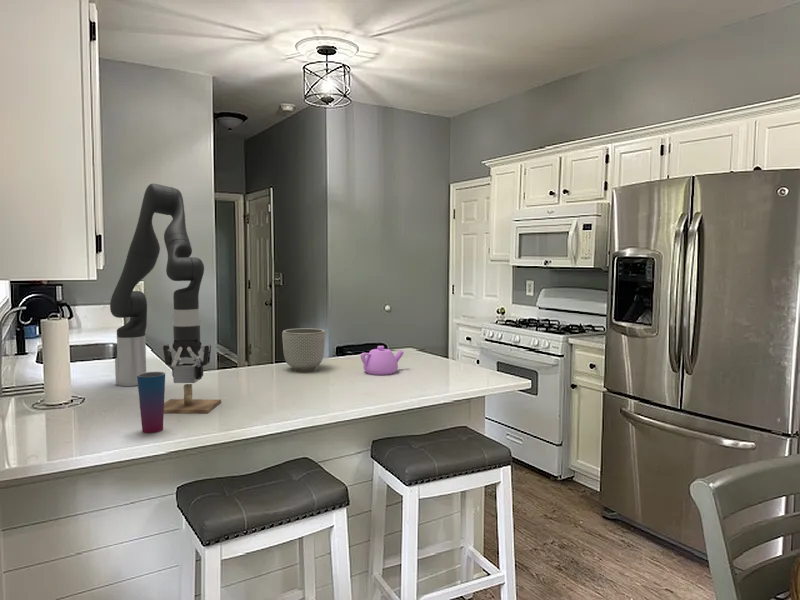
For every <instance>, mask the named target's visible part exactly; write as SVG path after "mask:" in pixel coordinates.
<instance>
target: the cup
mask: <svg viewBox="0 0 800 600" xmlns="http://www.w3.org/2000/svg"><path fill="white" fill-rule="evenodd" d="M137 380H138V385H137V388H138V401H139V408H140V409H139V410H140V420H141V431H142V432H143V433H146V434H155V433H158V432H159V433H160V432H162V431H163V430H164V415H165V413H164V403H165V394H166V393H165V392H166V391H165V389H166V372H164V371H146V372H145V373H140V374H138V375H137Z"/></svg>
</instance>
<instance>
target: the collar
mask: <svg viewBox="0 0 800 600" xmlns="http://www.w3.org/2000/svg"><path fill="white" fill-rule="evenodd" d="M172 378H173V379H172V380H173V384H196V383H197V382H198V381H200V380H202V379H203V377H201V379H197V365H196V363H195V362H179V364H177V365H175V366H173V376H172Z"/></svg>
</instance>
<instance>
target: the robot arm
mask: <svg viewBox="0 0 800 600" xmlns="http://www.w3.org/2000/svg"><path fill="white" fill-rule="evenodd" d="M154 214H159V215H165V216H166V215H167V216H171V218H172V220H171V221H170V223H169V224H168V225H167V227H166V228H165V230H164V233H163V240H164V245H165V248H166V251H167V262H166V270H165V271H166V275H167V277H168V278H169V280H171V281H174V282H189V281H190V282H189V284H188V285H187V286H186V287H183V288H178V289H175V290H174V292H173V315H172V321H173V322H172V323H173V325H172V327H173V343H171V344H165V345H163V346H162V349H163V357H164V362H165V365H166V366H170V367H171V368H172V371H171V373H172V374H171V375H172V377H173V366H175V365H177V364H179V363H181V360H182V358H183V359H184V358H189V359H190V358H191V359H192V360H193V362H194V363H196V365H197V379H200V380H202V379H201V377H202V378H203V377H204V366H206V365H209V364H210V361H211V349H212V345H211V344H202V341H201V318H200V317H201V315H200V310H199V309H200V308H199V307H200V305H199V303H200V302H199V301H200V300H199V297H200V295H199V294H200V288H201V283H202V281H203V276H204V272H205V265H204V263H203V261H202V259H201V258H199V257H193V256H192V257H191V255H192V253H193V248H192V246H191V245H192V244H191V242H190V238H189V235H188V232H187V226H186V212H185V205H184V198H183V195H182V192H181V190H179V188H175V187H173V186H167V185H164V184H163V185H162V184H157V183H150V184H149V185H148V186H147V187H146V188H145V191H144V194H143V199H142V203H141V208H140V213H139V215H138V221H137V224H136V228H135V231H134V234H133V237H132V240H131V243H130V245H129V249H128V252H127V255H126V259H125V262H124V266H123V268H122V272H121V274H120V277H119V279H118V281H117V284H116V286H115V288H114V291H113V293H112V294H111V299H110V302H109V304H110V305H109V308H110V313H111V315H112V316H113V317H115V318H117V319H118V318H119V319H122V318H123V319H126V318H129V321H128V322H127V323H126V324H123V326H120V327H118V328H117V329H116V351H117V356H116V357H115V359H114V370H115V371H114V372H115V385H116V386H120V387H121V386H122V387H134V386H138V380H137V375H138V374H140V373H145V372H147V350H146V349H147V347H146V346H147V345H146V344H147V343H146V330H147V326H148V325H147V324H148V323H147V322H148V319H147V318H148V317H147V316H148V300H147V296H146V295H145V293H144V292H143V291H140V290H134V289H135V287H136V286H138V283H140V282H141V281H142V280H143V279H144V278H145V277H146V276H147V275H149V274H150V273H151V272H152V271H153V270H154V268H155V266H156V264H157V262H158V258H159V256H160V251H161V247H160V243H159V239H158V237H157V235H156V233H155V229H154V226H153V216H154ZM173 350H174V351H175V355H174V357H173V356H172V355H173V354H172V352H173ZM201 350H202V352H203V356H201V353H200V352H199V351H201ZM202 357H203V359H202Z"/></svg>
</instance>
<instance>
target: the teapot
mask: <svg viewBox="0 0 800 600" xmlns="http://www.w3.org/2000/svg"><path fill="white" fill-rule="evenodd" d="M403 355H404V351H402V350H400V349H399V350H398V352H397V353H396V354H395V355H394V352H393V351H392V350H391V349H389V348H385V346H384V345H378V346H377V348H373V349H371V350H370V351H369V352H362V353H360V359H361V362H362V363H363V366H362V367H363V370H364V372H365V373H366V374H368V375H371V374H373V375H374V376H388V375H387V374H390V375H393V374H392V373H394V374H395V373H396V372H397V371H398V369H399V364H398V362H399V360H401V358H402V357H403Z"/></svg>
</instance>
